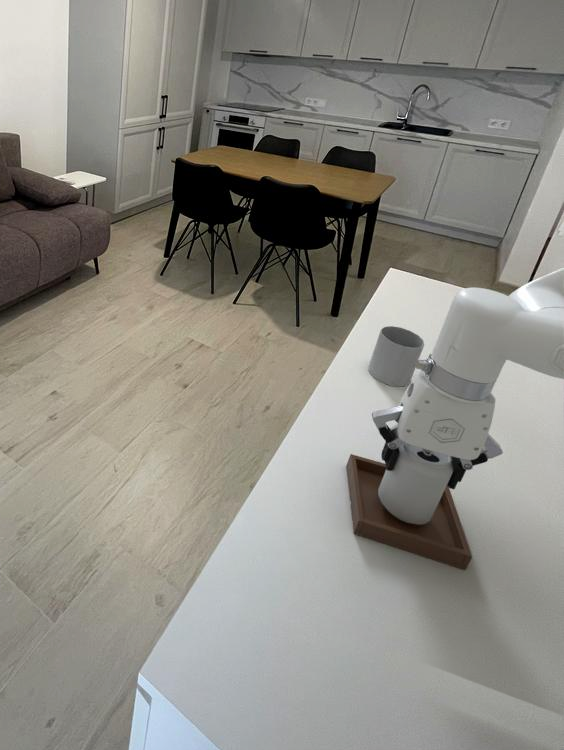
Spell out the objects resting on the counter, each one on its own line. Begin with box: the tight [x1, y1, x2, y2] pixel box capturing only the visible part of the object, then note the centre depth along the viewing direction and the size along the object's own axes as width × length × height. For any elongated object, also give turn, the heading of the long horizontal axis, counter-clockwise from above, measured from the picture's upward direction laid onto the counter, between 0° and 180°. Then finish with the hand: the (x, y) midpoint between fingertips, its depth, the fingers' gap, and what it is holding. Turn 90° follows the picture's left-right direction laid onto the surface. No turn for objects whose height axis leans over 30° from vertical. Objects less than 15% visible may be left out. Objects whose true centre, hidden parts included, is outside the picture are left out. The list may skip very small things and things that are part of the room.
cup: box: [367, 325, 425, 388], centre depth 108 cm, size 8×8×10 cm
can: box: [378, 443, 454, 525], centre depth 74 cm, size 8×8×12 cm
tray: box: [345, 453, 473, 571], centre depth 77 cm, size 15×14×3 cm
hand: (417, 472), depth 74 cm, fingers closed on can, 7 cm apart
